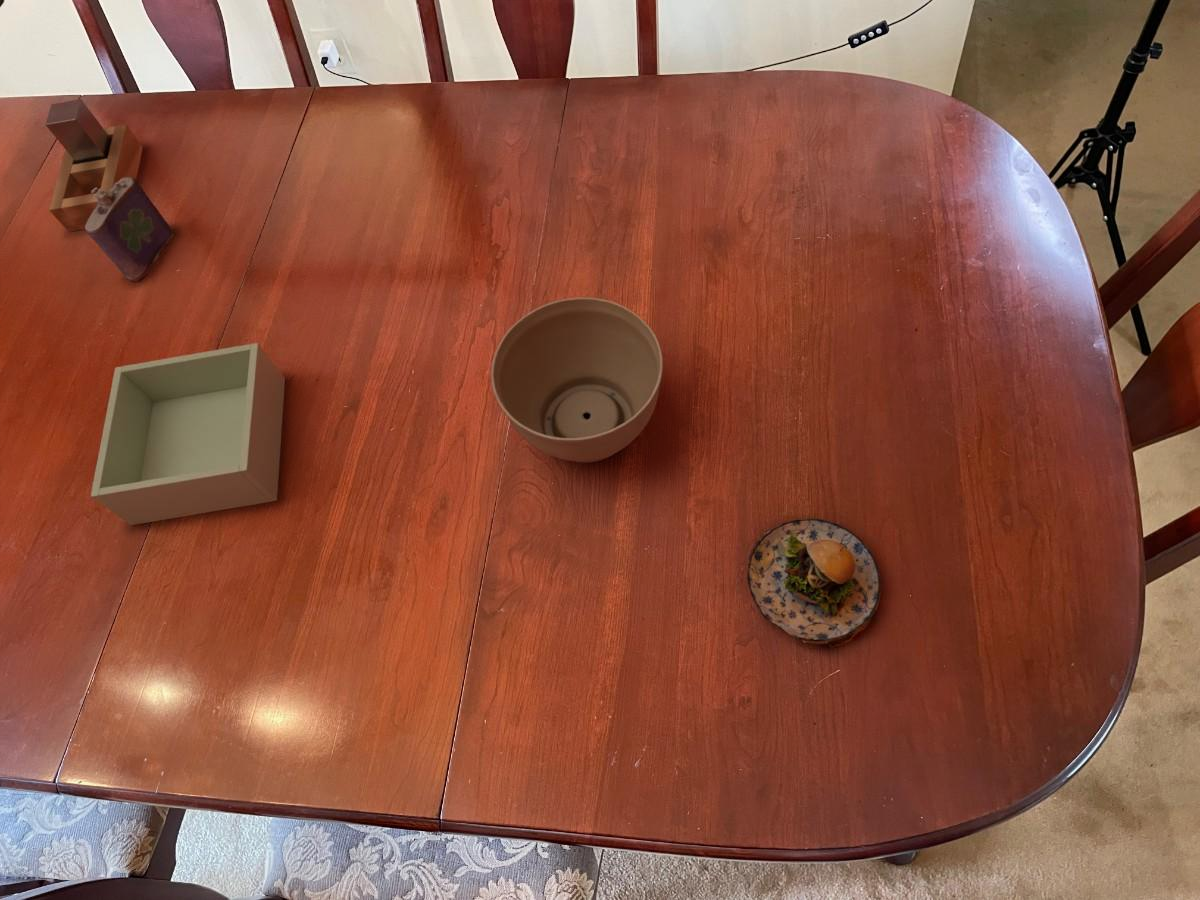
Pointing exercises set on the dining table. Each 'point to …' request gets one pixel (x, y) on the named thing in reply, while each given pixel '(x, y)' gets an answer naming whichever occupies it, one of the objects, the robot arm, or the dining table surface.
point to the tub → (191, 435)
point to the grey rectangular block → (78, 131)
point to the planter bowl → (578, 377)
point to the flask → (128, 228)
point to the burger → (815, 581)
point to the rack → (93, 178)
